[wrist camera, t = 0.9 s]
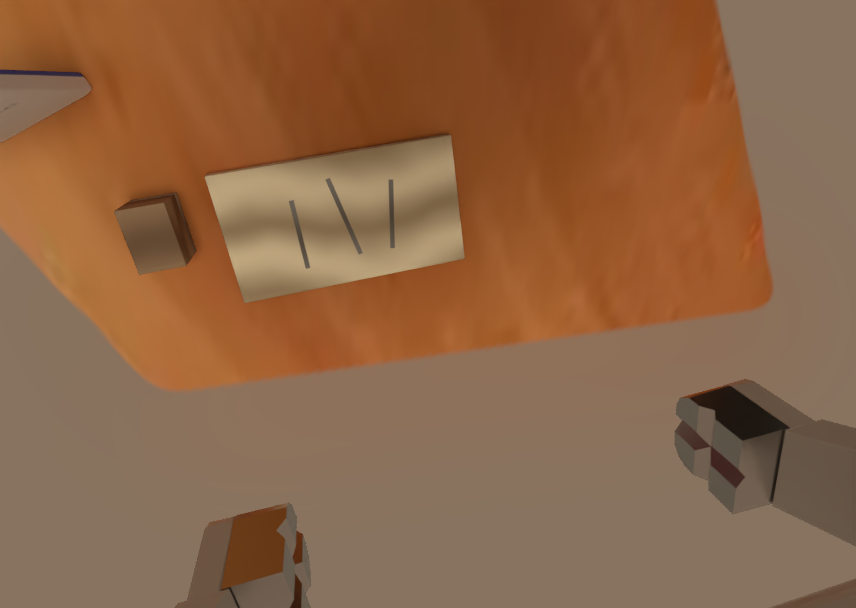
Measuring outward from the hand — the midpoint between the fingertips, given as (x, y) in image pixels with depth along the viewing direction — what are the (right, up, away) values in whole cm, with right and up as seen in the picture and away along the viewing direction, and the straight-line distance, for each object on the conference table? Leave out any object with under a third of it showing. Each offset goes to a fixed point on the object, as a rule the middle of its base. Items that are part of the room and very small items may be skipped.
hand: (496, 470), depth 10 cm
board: (-9, +11, +34) cm, 37 cm away
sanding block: (-23, +10, +32) cm, 40 cm away
